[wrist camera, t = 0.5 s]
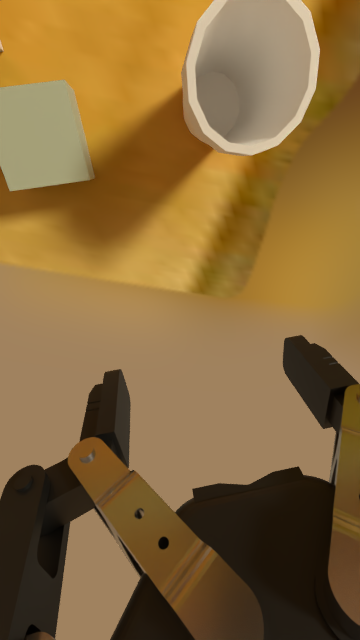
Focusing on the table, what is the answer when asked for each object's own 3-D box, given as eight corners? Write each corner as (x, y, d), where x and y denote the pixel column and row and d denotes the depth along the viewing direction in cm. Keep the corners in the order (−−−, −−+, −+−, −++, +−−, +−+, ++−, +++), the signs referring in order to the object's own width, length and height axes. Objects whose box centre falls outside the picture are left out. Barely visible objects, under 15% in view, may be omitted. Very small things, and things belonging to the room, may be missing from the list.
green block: (-6, 101, 28) (-29, 91, 25) (74, 91, 29) (64, 79, 25) (25, 188, 32) (10, 191, 29) (95, 178, 33) (89, 179, 29)
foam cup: (183, 169, 33) (206, 172, 22) (155, 72, 29) (166, 12, 18) (260, 140, 33) (324, 127, 22) (244, 36, 28) (313, -49, 17)
